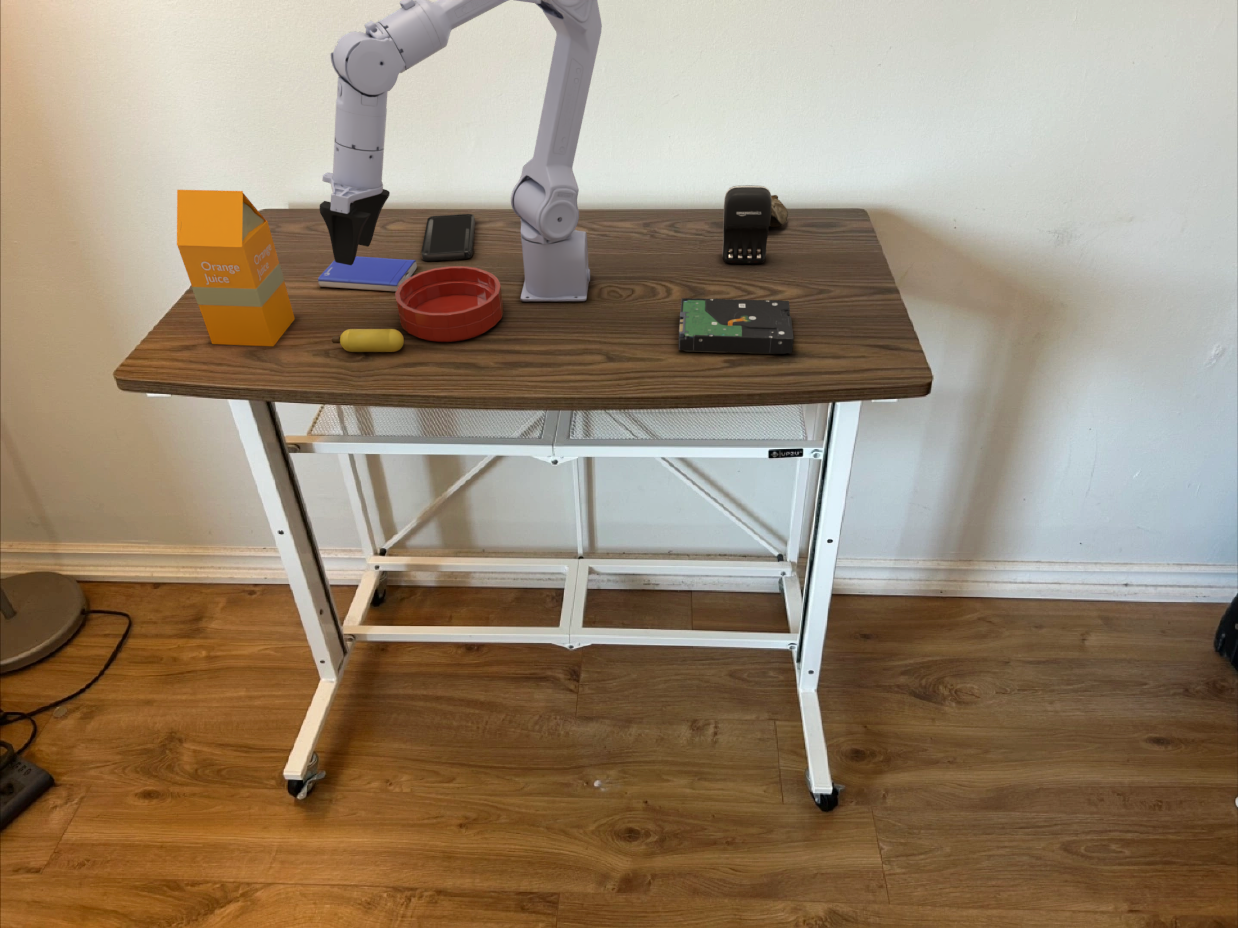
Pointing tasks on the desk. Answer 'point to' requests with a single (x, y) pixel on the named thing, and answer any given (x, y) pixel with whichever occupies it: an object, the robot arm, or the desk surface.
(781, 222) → the fossilized seashell
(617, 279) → the desk surface
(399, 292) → the bowl
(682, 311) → the disk drive
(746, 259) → the battery charger
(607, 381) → the desk surface
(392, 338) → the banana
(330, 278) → the blue book
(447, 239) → the phone
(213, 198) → the orange juice
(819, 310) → the desk surface
